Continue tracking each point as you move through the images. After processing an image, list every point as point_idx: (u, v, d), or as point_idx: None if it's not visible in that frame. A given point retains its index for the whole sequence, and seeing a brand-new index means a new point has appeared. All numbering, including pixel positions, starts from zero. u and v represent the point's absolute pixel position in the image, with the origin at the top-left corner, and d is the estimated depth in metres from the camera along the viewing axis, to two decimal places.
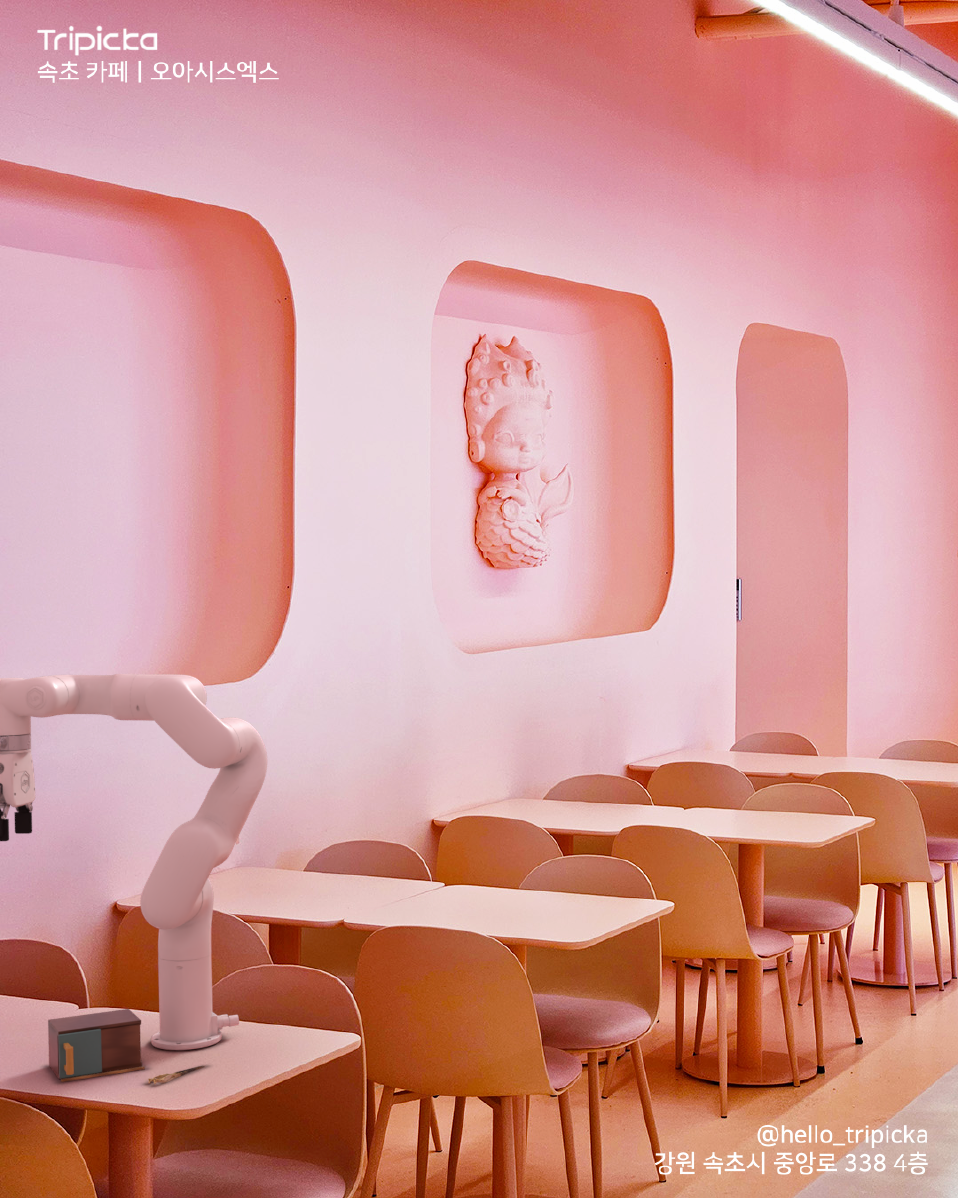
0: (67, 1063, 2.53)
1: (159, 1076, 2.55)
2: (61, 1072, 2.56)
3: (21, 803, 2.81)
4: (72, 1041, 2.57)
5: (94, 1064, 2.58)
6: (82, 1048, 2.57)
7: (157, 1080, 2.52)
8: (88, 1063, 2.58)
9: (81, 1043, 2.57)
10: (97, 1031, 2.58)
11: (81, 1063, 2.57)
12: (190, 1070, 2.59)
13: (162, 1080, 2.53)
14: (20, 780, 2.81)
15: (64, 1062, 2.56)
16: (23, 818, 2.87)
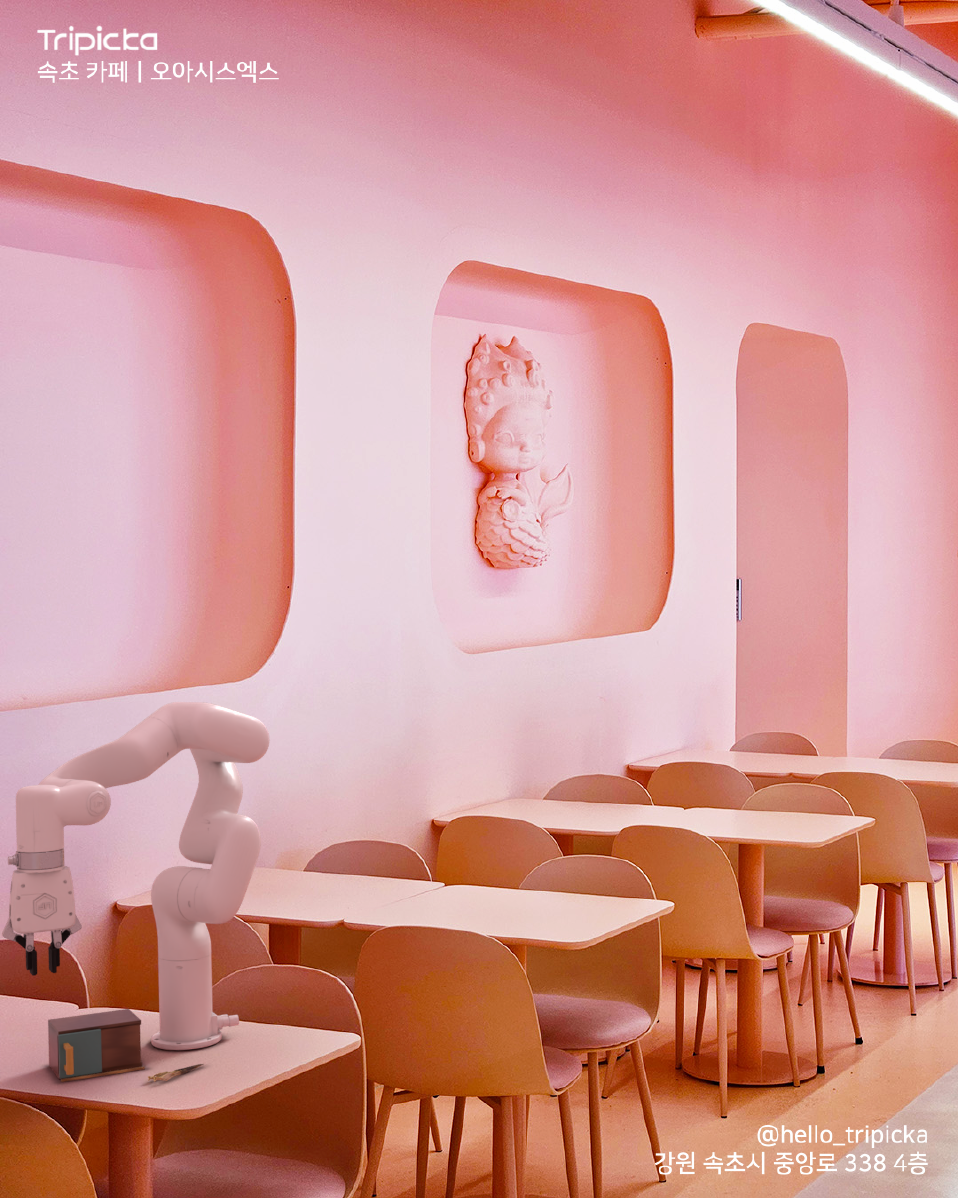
0: (67, 1063, 2.53)
1: (159, 1074, 2.55)
2: (61, 1072, 2.56)
3: (34, 930, 2.49)
4: (72, 1041, 2.57)
5: (94, 1064, 2.58)
6: (82, 1048, 2.57)
7: (157, 1078, 2.52)
8: (88, 1063, 2.58)
9: (81, 1043, 2.57)
10: (97, 1031, 2.58)
11: (81, 1063, 2.57)
12: (189, 1068, 2.59)
13: (162, 1078, 2.53)
14: (32, 904, 2.49)
15: (64, 1062, 2.56)
16: (50, 954, 2.52)
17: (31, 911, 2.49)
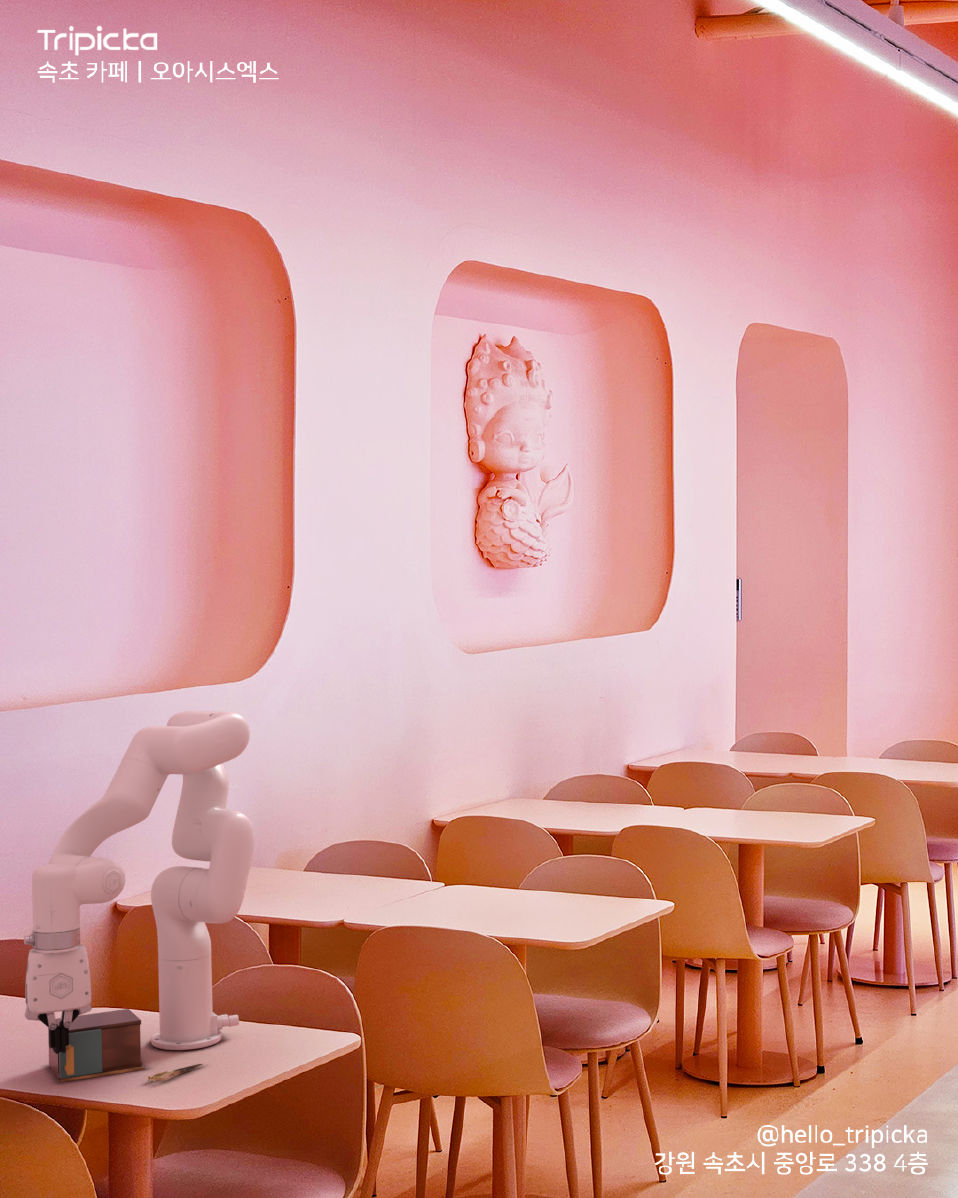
0: (67, 1063, 2.53)
1: (158, 1074, 2.55)
2: (61, 1072, 2.56)
3: (50, 1010, 2.50)
4: (73, 1041, 2.57)
5: (94, 1064, 2.58)
6: (82, 1048, 2.57)
7: (157, 1078, 2.52)
8: (88, 1063, 2.58)
9: (81, 1043, 2.57)
10: (97, 1031, 2.59)
11: (81, 1063, 2.57)
12: (189, 1068, 2.59)
13: (161, 1078, 2.53)
14: (48, 984, 2.49)
15: (64, 1062, 2.56)
16: None
17: (47, 991, 2.49)
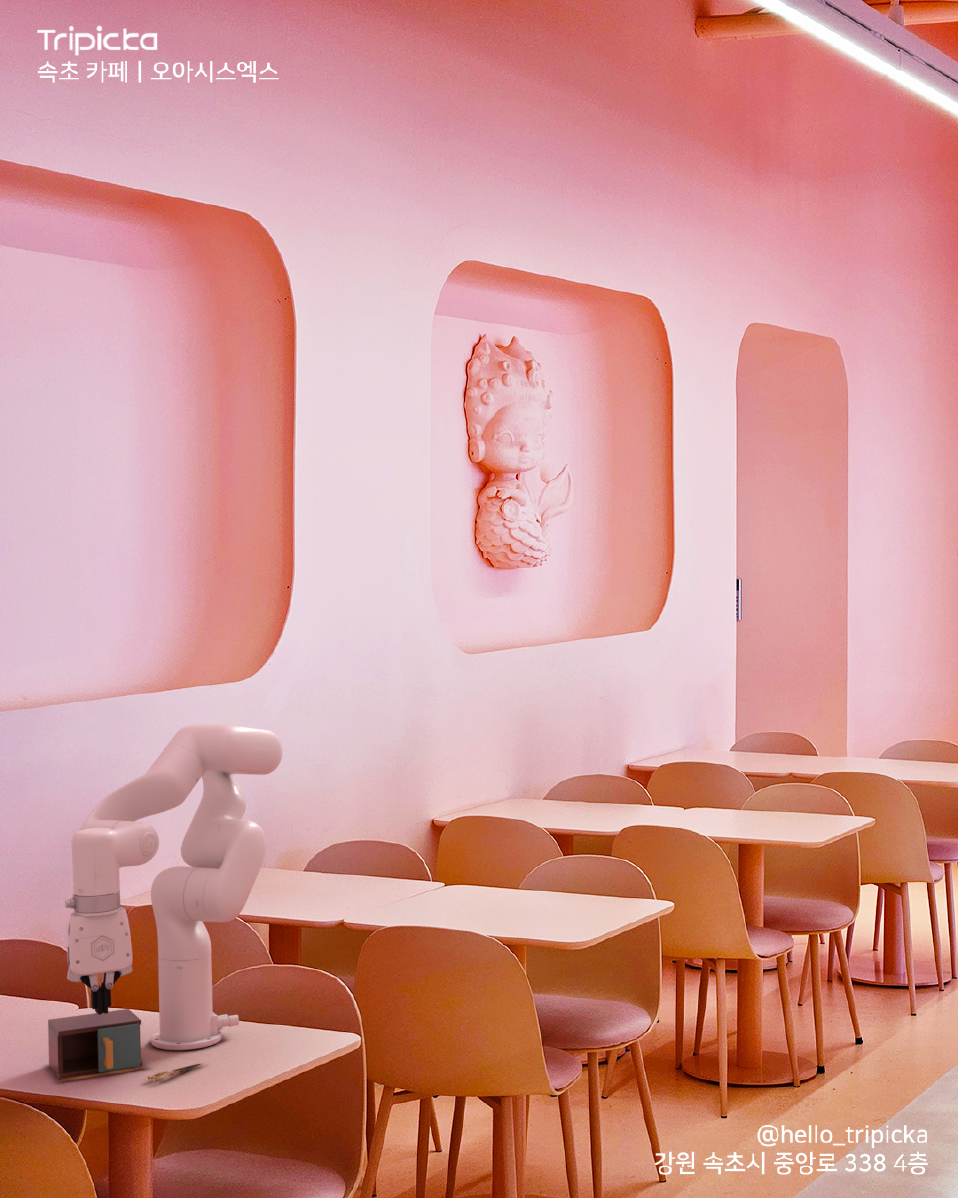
0: (107, 1057, 2.56)
1: (158, 1074, 2.55)
2: (100, 1066, 2.59)
3: (92, 971, 2.53)
4: (112, 1035, 2.60)
5: (132, 1058, 2.61)
6: (121, 1042, 2.60)
7: (156, 1078, 2.52)
8: (127, 1057, 2.61)
9: (120, 1037, 2.60)
10: (136, 1026, 2.61)
11: (120, 1057, 2.60)
12: (188, 1068, 2.59)
13: (161, 1078, 2.53)
14: (90, 946, 2.53)
15: (103, 1056, 2.59)
16: None
17: (89, 953, 2.53)
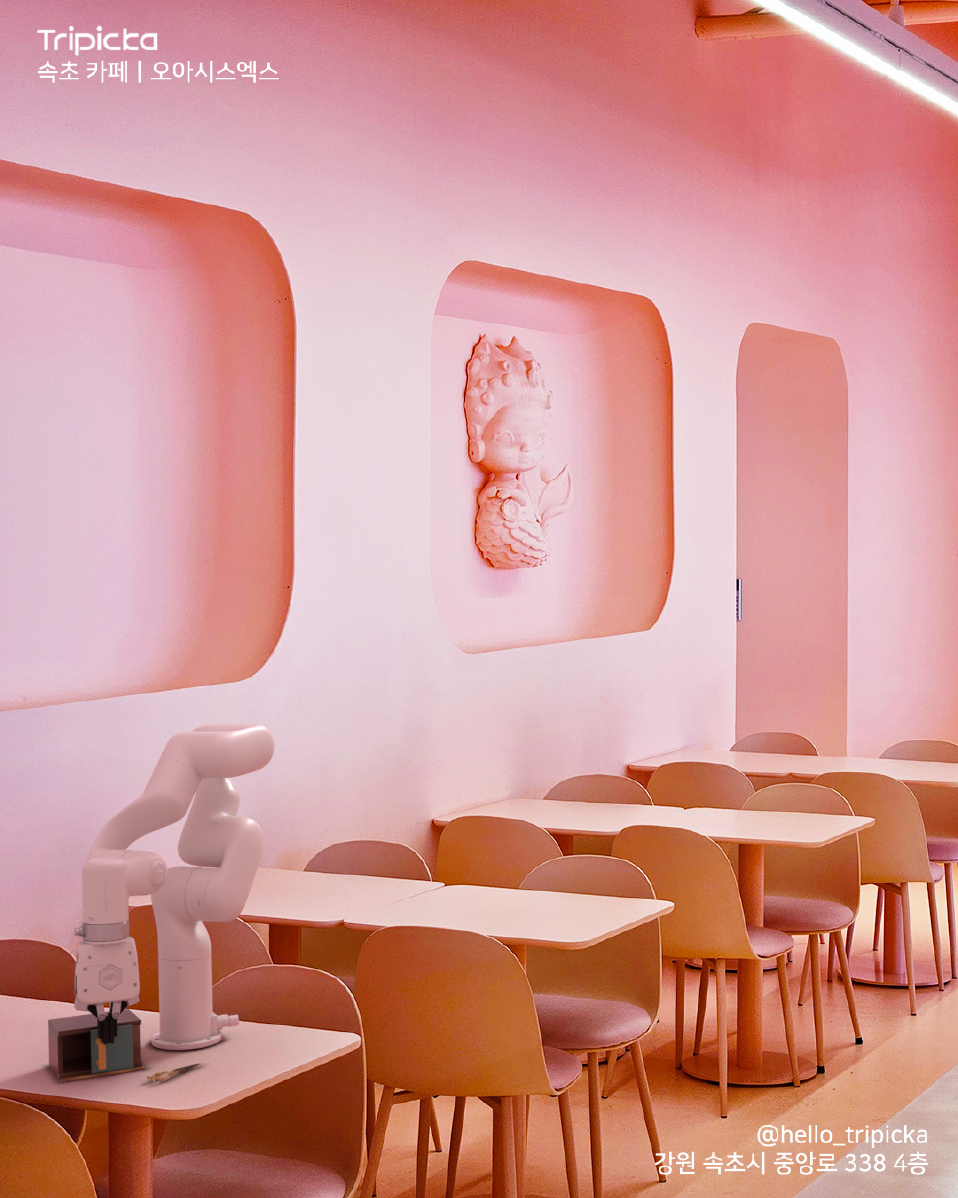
0: (100, 1058, 2.55)
1: (157, 1074, 2.55)
2: (93, 1067, 2.58)
3: (99, 1001, 2.53)
4: None
5: (125, 1059, 2.61)
6: (114, 1043, 2.60)
7: (156, 1078, 2.52)
8: (120, 1058, 2.60)
9: None
10: (129, 1027, 2.61)
11: (113, 1058, 2.60)
12: (187, 1068, 2.59)
13: (161, 1078, 2.53)
14: (98, 975, 2.53)
15: (96, 1057, 2.58)
16: None
17: (97, 982, 2.53)
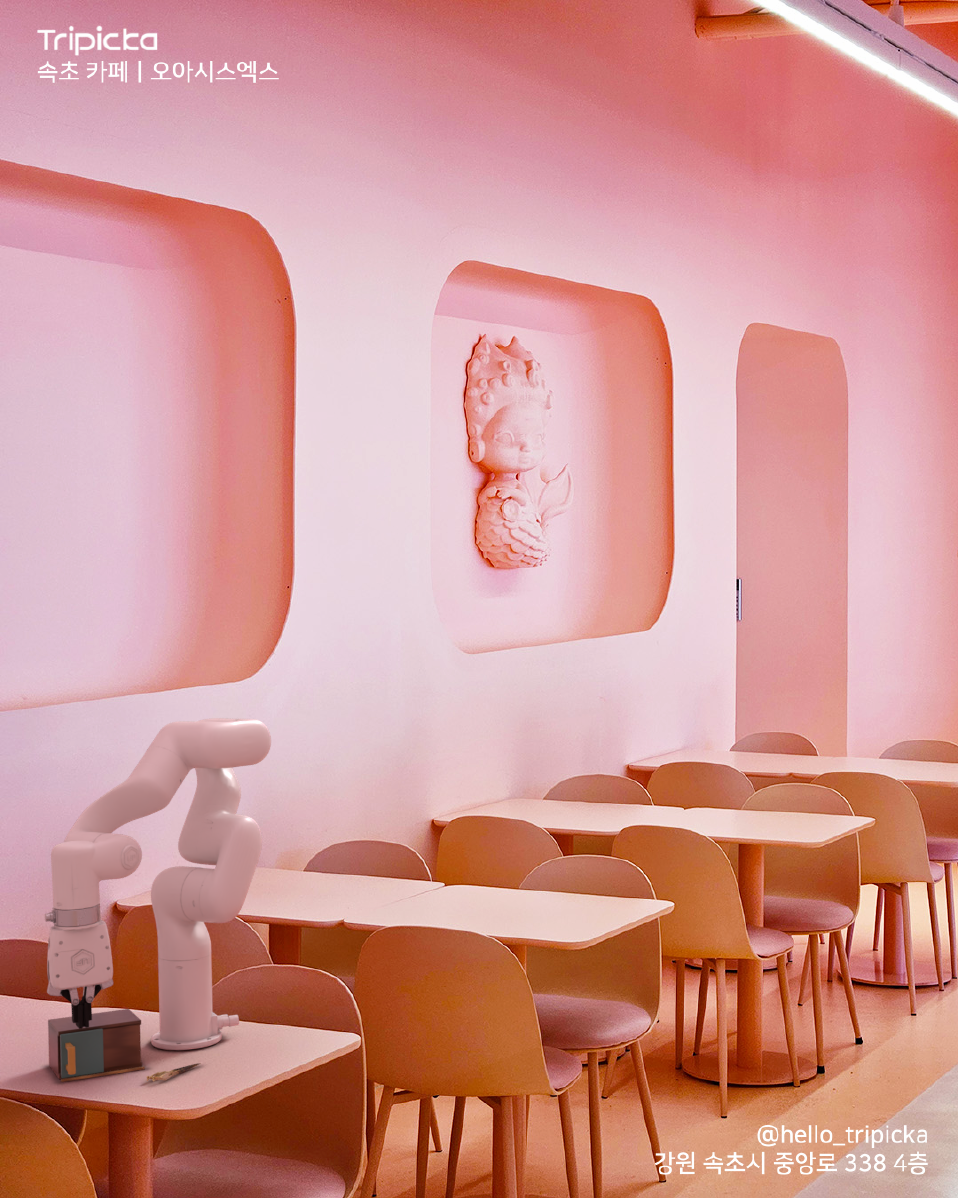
0: (69, 1063, 2.53)
1: (157, 1074, 2.55)
2: (63, 1072, 2.56)
3: (72, 985, 2.51)
4: (74, 1041, 2.57)
5: (96, 1064, 2.58)
6: (84, 1048, 2.57)
7: (156, 1078, 2.52)
8: (90, 1063, 2.58)
9: (83, 1043, 2.57)
10: (99, 1031, 2.59)
11: (83, 1063, 2.57)
12: (187, 1067, 2.59)
13: (161, 1078, 2.53)
14: (70, 960, 2.51)
15: (66, 1062, 2.56)
16: None
17: (69, 967, 2.51)
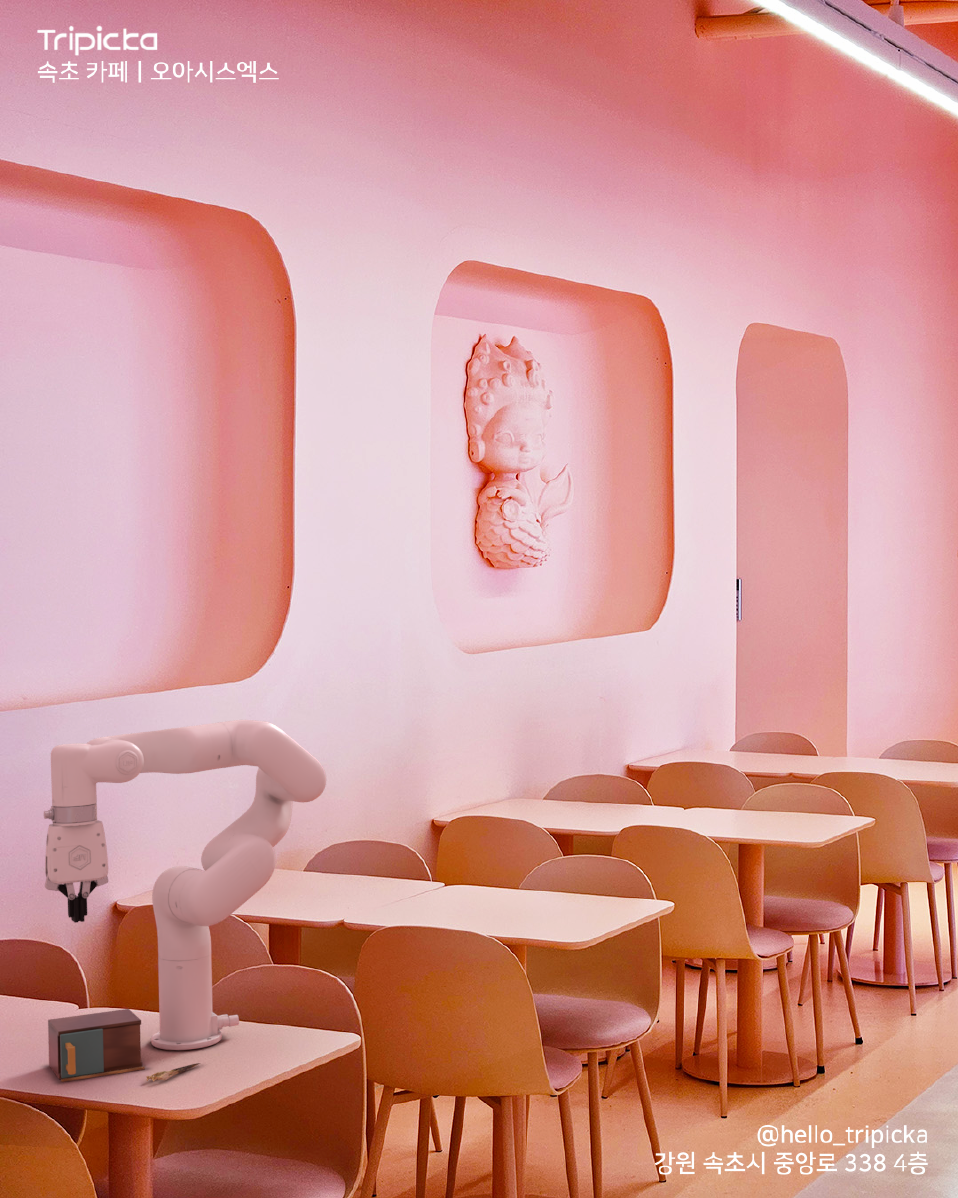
0: (69, 1063, 2.53)
1: (157, 1074, 2.55)
2: (63, 1072, 2.56)
3: (69, 880, 2.62)
4: (74, 1041, 2.57)
5: (96, 1064, 2.58)
6: (84, 1048, 2.57)
7: (156, 1078, 2.52)
8: (90, 1063, 2.58)
9: (83, 1043, 2.57)
10: (99, 1031, 2.59)
11: (83, 1063, 2.57)
12: (186, 1067, 2.59)
13: (160, 1077, 2.53)
14: (67, 855, 2.62)
15: (66, 1062, 2.56)
16: None
17: (67, 862, 2.62)
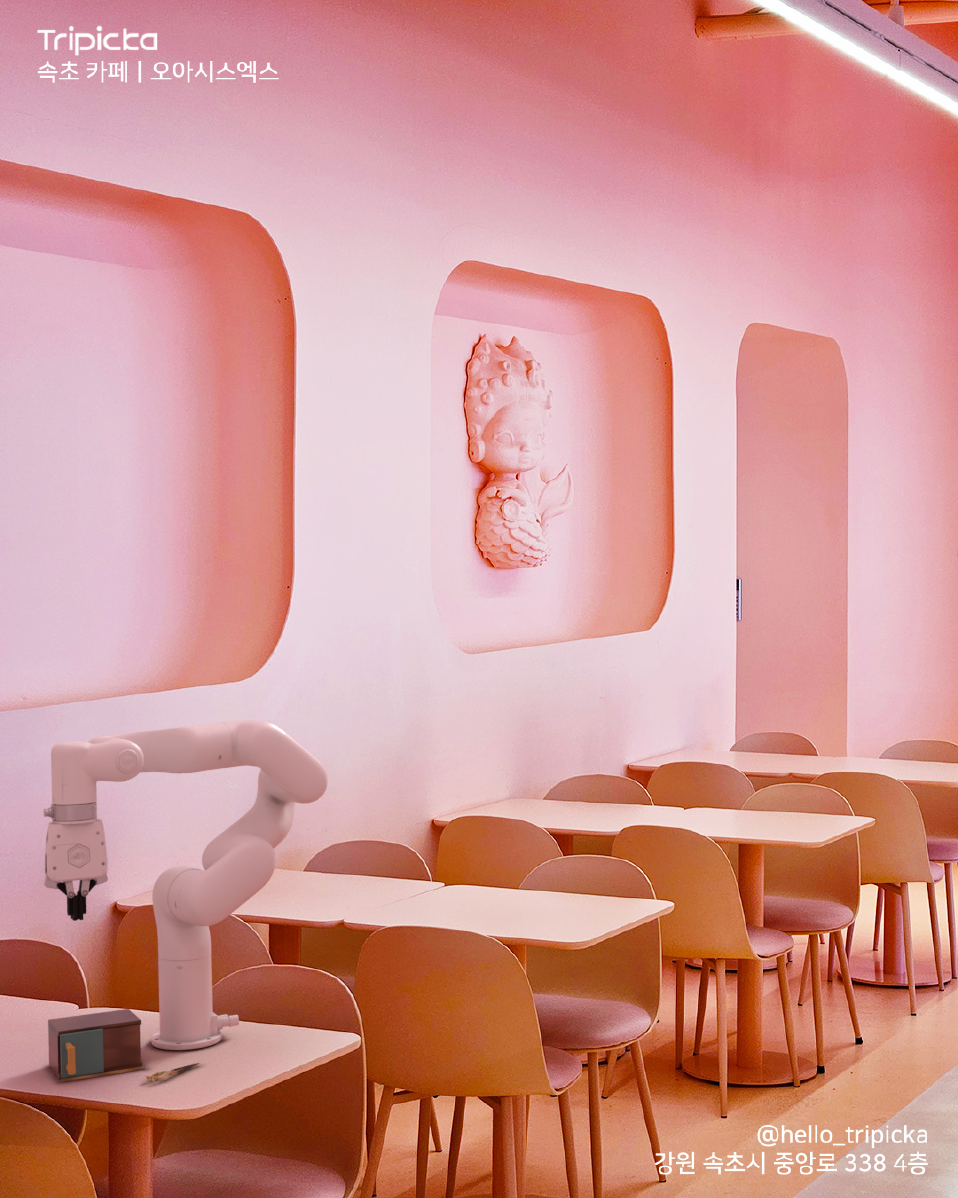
0: (69, 1063, 2.53)
1: (156, 1074, 2.55)
2: (63, 1072, 2.56)
3: (68, 878, 2.63)
4: (74, 1041, 2.57)
5: (96, 1064, 2.58)
6: (84, 1048, 2.57)
7: (155, 1077, 2.52)
8: (90, 1063, 2.58)
9: (83, 1043, 2.57)
10: (99, 1031, 2.59)
11: (83, 1063, 2.57)
12: (186, 1067, 2.60)
13: (160, 1077, 2.53)
14: (67, 853, 2.63)
15: (66, 1062, 2.56)
16: None
17: (66, 860, 2.62)
